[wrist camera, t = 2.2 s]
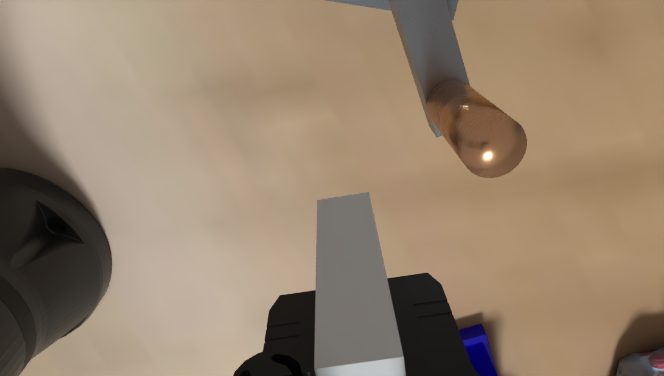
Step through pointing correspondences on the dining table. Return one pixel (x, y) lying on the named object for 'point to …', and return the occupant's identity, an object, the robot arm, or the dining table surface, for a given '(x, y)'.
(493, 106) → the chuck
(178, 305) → the dining table surface
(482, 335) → the mounting bracket
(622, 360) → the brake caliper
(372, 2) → the stand
